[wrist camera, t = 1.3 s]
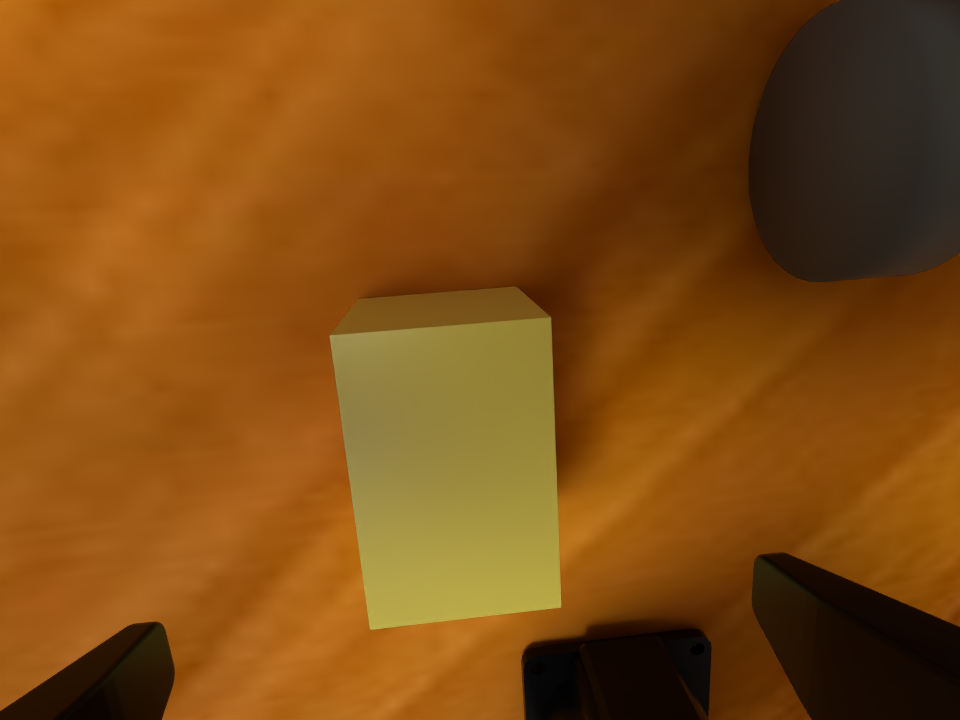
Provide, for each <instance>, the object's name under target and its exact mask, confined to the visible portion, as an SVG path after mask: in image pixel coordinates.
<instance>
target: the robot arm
mask: <svg viewBox="0 0 960 720" xmlns="http://www.w3.org/2000/svg"><path fill="white" fill-rule="evenodd" d="M752 607H753V611H754V613H755V616H756V618H757V620H758V622H759V624H760V626H761V628H762V630H763V631H764V633H765V635H766V637H767V639H768V641H769V643H770V645H771V646H772V648H773V650H774V652H775V654H776V656H777V658H778V660H779V661H780V663H781V665H782V667H783V669H784V671H785V673H786V675H787V676H788V678H789V680H790V682H791V684H792V686H793V688H794V690H795V692H796V693H797V695H798V697H799V699H800V701H801V702H802V704H803V706H804V708H805V709H806V711H807V713H808V714H809V716H810V718H811V719H812V720H960V627H959V626H956V625H954V624H952V623H949V622H947V621H945V620H942V619H940V618H938V617H935V616H933V615H930V614H928V613H926V612H923V611H921V610H919V609H916V608H914V607H912V606H909V605H907V604H905V603H902V602H900V601H897V600H895V599H893V598H890V597H888V596H886V595H883V594H881V593H879V592H876V591H874V590H872V589H869V588H867V587H864V586H862V585H860V584H857V583H855V582H853V581H850V580H848V579H846V578H843V577H841V576H839V575H836V574H834V573H831V572H829V571H827V570H824V569H822V568H820V567H817V566H815V565H813V564H810V563H808V562H806V561H803V560H801V559H798V558H796V557H794V556H791V555H789V554H787V553H782V552H779V553H770V554H761V555H759V556H757V557H756V559H755V561H754V570H753V586H752ZM696 643H698V644H697V645H696V646H693V647H691V646H692V645H693V644H696ZM537 662H540V663H541V664H540V665H537V666H532V665H533V664H534V663H537ZM521 665H522V682H523V699H524V717H525V720H709V719H708V710H709V689H710V668H711V643H710V641H709V640H708V638H707V637H706V635H705V634H704V632H703V631H701V630H699V629H685V630H676V631H668V632H660V633H651V634H643V635H635V636H626V637H618V638H610V639H601V640H593V641H585V642H576V643H568V644H560V645H551V646H543V647H535V648H531V649H529V650H528V651H526V652H525V653H524V655H523V656H522V660H521ZM174 677H175V668H174V663H173V659H172V655H171V651H170V647H169V643H168V639H167V635H166V631H165V628H164V626H163V625H162V624H161V623H159V622H146V623H137V624H132V625H129V626H127V627H126V628H124V629H123V630H121V631H120V632H118V633H117V634H115V635H114V636H112V637H111V638H109V639H108V640H106V641H105V642H103V643H102V644H100V645H99V646H97V647H96V648H94V649H93V650H91V651H90V652H88V653H87V654H85V655H84V656H82V657H81V658H79V659H78V660H76V661H75V662H73V663H72V664H70V665H69V666H67V667H66V668H64V669H63V670H61V671H60V672H58V673H57V674H55V675H54V676H52V677H51V678H49V679H48V680H46V681H45V682H43V683H42V684H40V685H39V686H37V687H36V688H34V689H33V690H31V691H30V692H28V693H27V694H25V695H24V696H22V697H21V698H19V699H18V700H16V701H15V702H13V703H12V704H10V705H9V706H7V707H6V708H4V709H3V710H1V711H0V720H162V717H163V714H164V711H165V708H166V705H167V702H168V699H169V696H170V693H171V690H172V687H173V683H174Z"/></svg>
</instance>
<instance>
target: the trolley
mask: <svg viewBox="0 0 960 720" xmlns="http://www.w3.org/2000/svg"><path fill="white" fill-rule="evenodd" d="M749 190H750V198H751V205H752V210H753V215H754V219H755V222H756V226H757V229H758V232H759V234H760V237H761V239H762V241H763V243H764V245H765V247H766V249H767V250H768V252H769V253H770V255H771V256H772V258H773V259H774V260H775V261H776V262H777V263H778V264H779V265H780V266H781V267H782V268H783V269H784V270H785V271H787V272H788V273H789V274H791V275H793V276H795V277H797V278H799V279H803V280H806V281H811V282H827V281H840V280H852V279H865V278H877V277H889V276H901V275H910V274H915V273H919V272H923V271H926V270H929V269H931V268H933V267H936V266H938V265H940V264H942V263H944V262H946V261H947V260H949V259H950V258H952V257H954V256H955V255H957V254H958V253H959V252H960V0H841V1H839V2H836V3H834V4H831V5H830V6H828V7H827V8H825V9H823V10H822V11H820V12H819V13H817V14H816V15H815V16H814V17H813V18H811V19H810V20H809V21H808V22H807V23H806V24H805V25H804V26H803V27H802V28H801V29H800V30H799V31H798V32H797V34H796V35H795V36H794V38H793V39H792V40H791V41H790V43H789V44H788V45H787V47H786V49H785V50H784V52H783V53H782V55H781V56H780V58H779V60H778V62H777V64H776V65H775V67H774V69H773V71H772V73H771V75H770V78H769V80H768V82H767V85H766V87H765V90H764V92H763V95H762V98H761V101H760V104H759V108H758V111H757V115H756V119H755V123H754V128H753V133H752V139H751V146H750V157H749Z"/></svg>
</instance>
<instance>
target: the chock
mask: <svg viewBox="0 0 960 720" xmlns="http://www.w3.org/2000/svg"><path fill="white" fill-rule="evenodd" d="M329 336H330V344H331V351H332V358H333V365H334V372H335V380H336V387H337V394H338V401H339V408H340V416H341V423H342V430H343V437H344V445H345V452H346V459H347V466H348V473H349V481H350V488H351V495H352V502H353V510H354V517H355V524H356V531H357V538H358V546H359V553H360V560H361V567H362V575H363V582H364V589H365V596H366V603H367V611H368V618H369V625H370V630H372V629H381V628H389V627H398V626H406V625H415V624H424V623H432V622H441V621H449V620H458V619H466V618H475V617H484V616H492V615H501V614H509V613H518V612H526V611H535V610H544V609H552V608H561V586H560V558H559V529H558V500H557V471H556V442H555V413H554V385H553V356H552V327H551V317H550V316H549V315H548V314H547V313H546V312H545V311H544V310H542V309H541V308H540V307H539V306H538V305H537V304H536V303H534V302H533V301H532V300H531V299H530V298H529V297H528V296H527V295H525V294H524V293H523V292H522V291H521V290H520V289H519V288H517V287H516V286H514V287H502V288H489V289H476V290H463V291H451V292H438V293H425V294H412V295H400V296H387V297H374V298H362V299H358V300H357V301H356V303H355V304H354V305H353V306H352V308H351V309H350V310H349V311H348V313H347V314H346V315H345V316H344V318H343V319H342V320H341V322H340V323H339V324H338V325H337V327H336V328H335V329H334V330H333V332H332V333H331V334H330V335H329Z"/></svg>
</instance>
